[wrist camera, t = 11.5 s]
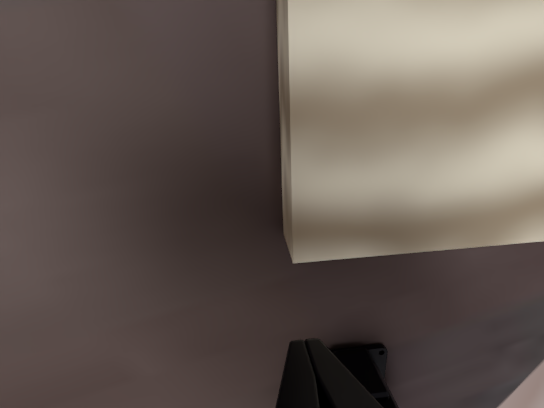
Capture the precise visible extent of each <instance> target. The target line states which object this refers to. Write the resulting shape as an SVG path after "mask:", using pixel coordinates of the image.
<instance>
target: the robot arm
mask: <svg viewBox="0 0 544 408" xmlns="http://www.w3.org/2000/svg"><path fill="white" fill-rule="evenodd" d="M386 360H387V349H386V347H385V346H384V345H382V344H378V345H369V346H360V347H352V348H343V349H334V350H329V349H328V348H327V347H326V346H325V345H324V343H323V342H322V341H321V340H320V339H318V338H312V339H306V340H305V341H304V340H294V341H291V342H290V343H289V348H288V352H287V357H286V361H285V366H284V371H283V375H282V380H281V385H280V389H279V394H278V399H277V403H276V408H399V407H398V405H397V403H396V401H395V399H394V397H393V395H392V393H391V391H390V390H389V388H388V386H387V384H386V382H385V380H384V377H385V369H386Z"/></svg>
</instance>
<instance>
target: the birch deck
mask: <svg viewBox="0 0 544 408" xmlns="http://www.w3.org/2000/svg"><path fill="white" fill-rule="evenodd" d="M276 9H277V41H278V73H279V105H280V138H281V170H282V202H283V233H284V237H285V240H286V243H287V246H288V249H289V252H290V255H291V259H292V262H293V263H304V262H315V261H326V260H338V259H349V258H360V257H371V256H382V255H394V254H405V253H416V252H427V251H438V250H450V249H461V248H472V247H483V246H494V245H506V244H517V243H528V242H539V241H544V0H276Z"/></svg>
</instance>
